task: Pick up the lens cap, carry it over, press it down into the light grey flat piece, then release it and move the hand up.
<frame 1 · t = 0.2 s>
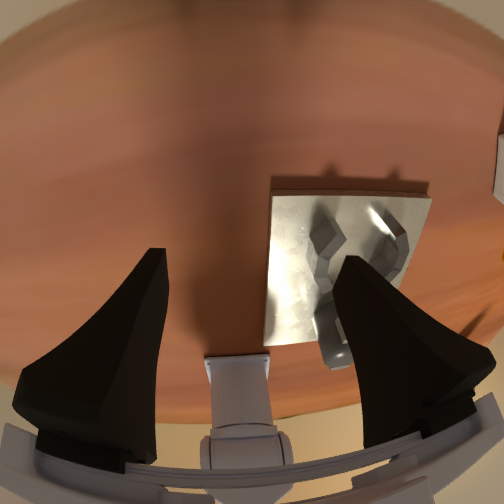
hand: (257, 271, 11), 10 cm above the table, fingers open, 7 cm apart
light grey flat piece: (349, 237, 23), on the table
lens cap: (332, 315, 28), point 1 cm above the table, touching light grey flat piece
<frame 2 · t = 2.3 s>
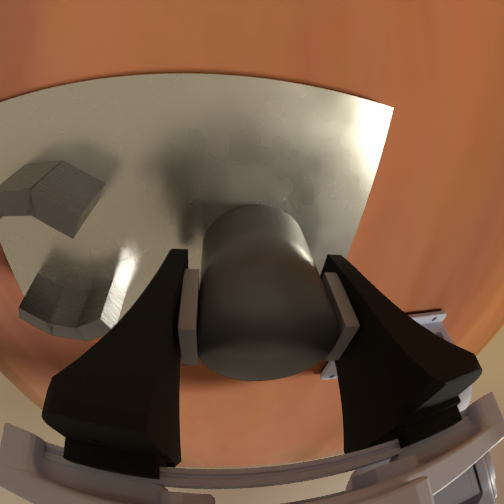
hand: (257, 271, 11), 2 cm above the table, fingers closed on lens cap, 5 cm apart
light grey flat piece: (69, 231, 12), on the table
lens cap: (253, 249, 12), point 1 cm above the table, touching gripper, light grey flat piece
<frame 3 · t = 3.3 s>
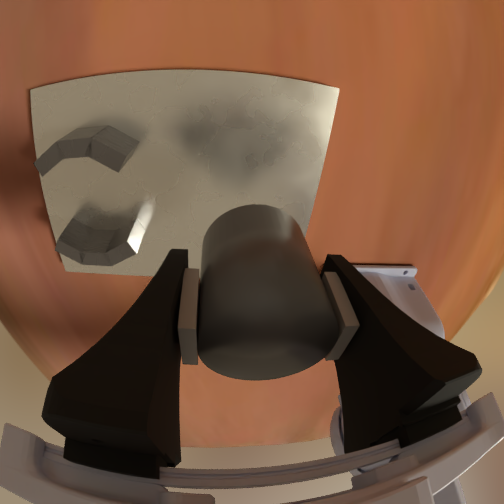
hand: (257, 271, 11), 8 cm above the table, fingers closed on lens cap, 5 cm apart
light grey flat piece: (103, 182, 16), on the table
lens cap: (253, 249, 12), point 7 cm above the table, touching gripper
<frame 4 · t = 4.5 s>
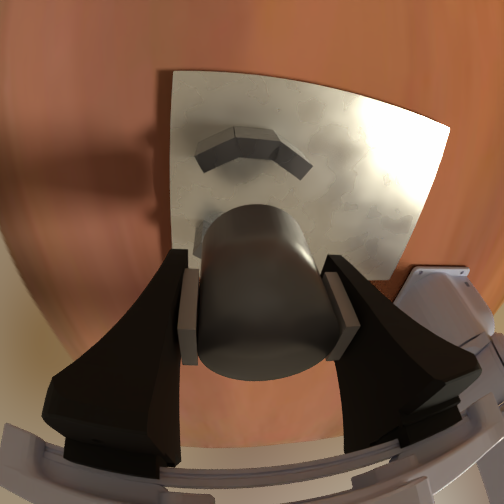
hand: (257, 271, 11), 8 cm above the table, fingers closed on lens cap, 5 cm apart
light grey flat piece: (243, 185, 18), on the table
lens cap: (253, 249, 12), point 7 cm above the table, touching gripper
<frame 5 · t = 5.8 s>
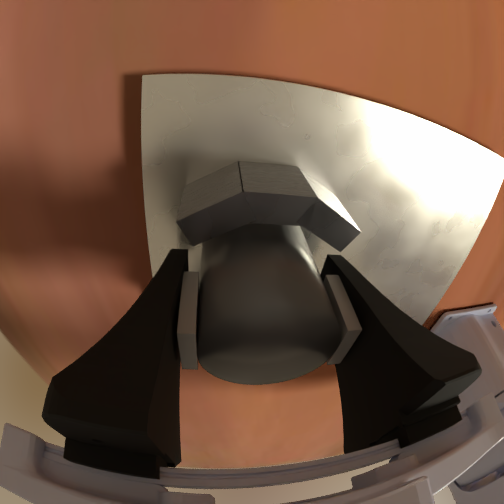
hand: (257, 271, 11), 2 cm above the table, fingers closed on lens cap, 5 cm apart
light grey flat piece: (252, 239, 13), on the table
lens cap: (254, 251, 12), point 1 cm above the table, touching gripper, light grey flat piece
when the fingers open (2 cm above the table, at t = 6.8 s): lens cap stays where it is, resting on light grey flat piece.
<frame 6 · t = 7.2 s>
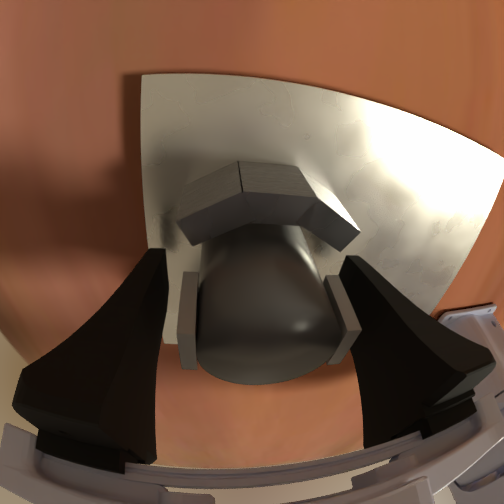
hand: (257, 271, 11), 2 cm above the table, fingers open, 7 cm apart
light grey flat piece: (251, 239, 13), on the table
lens cap: (253, 251, 12), point 1 cm above the table, touching light grey flat piece
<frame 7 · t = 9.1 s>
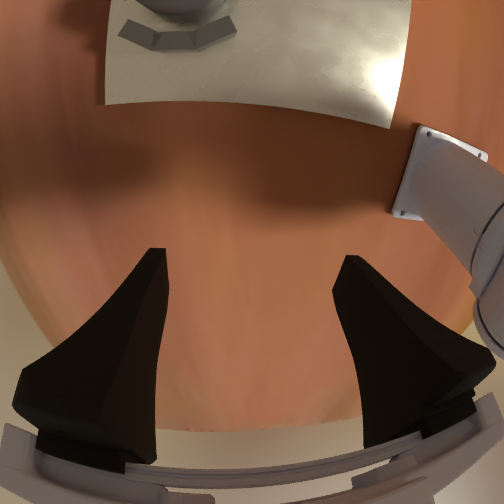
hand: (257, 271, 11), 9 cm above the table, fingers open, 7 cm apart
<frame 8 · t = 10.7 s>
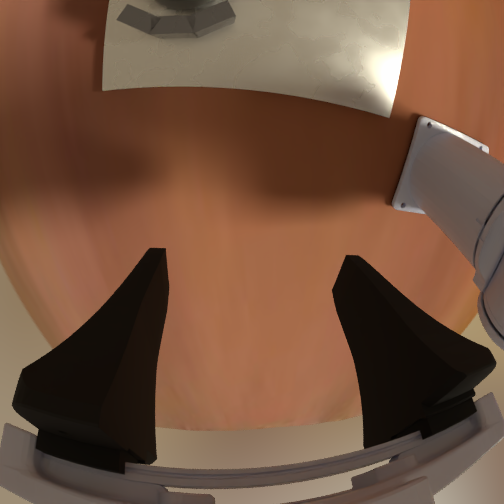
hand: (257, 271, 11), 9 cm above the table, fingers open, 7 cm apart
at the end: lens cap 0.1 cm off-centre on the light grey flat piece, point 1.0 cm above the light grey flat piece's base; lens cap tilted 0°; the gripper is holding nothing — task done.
